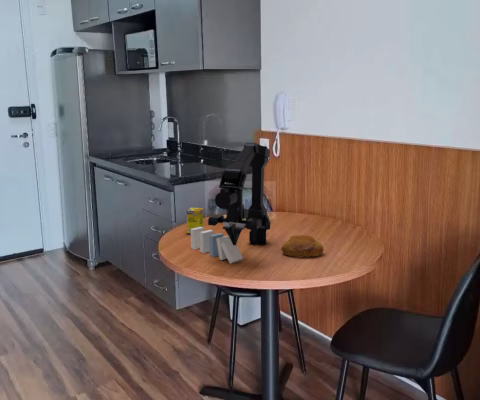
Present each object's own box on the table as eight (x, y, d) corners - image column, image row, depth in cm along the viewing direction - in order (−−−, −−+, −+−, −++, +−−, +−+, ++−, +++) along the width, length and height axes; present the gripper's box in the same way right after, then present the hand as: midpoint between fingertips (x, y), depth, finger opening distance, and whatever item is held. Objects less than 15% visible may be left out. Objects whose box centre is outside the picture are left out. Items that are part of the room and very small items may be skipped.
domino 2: (213, 250, 189) (213, 230, 187) (203, 253, 186) (202, 233, 184) (210, 249, 190) (210, 229, 189) (200, 252, 187) (199, 232, 186)
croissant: (320, 265, 179) (324, 245, 176) (279, 257, 181) (282, 237, 179) (322, 252, 192) (325, 233, 190) (283, 245, 195) (286, 226, 193)
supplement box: (200, 235, 209) (199, 211, 207) (186, 234, 210) (186, 210, 208) (203, 231, 215) (203, 207, 212) (190, 231, 216) (190, 207, 213)
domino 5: (243, 258, 176) (233, 239, 179) (232, 261, 173) (223, 242, 175) (240, 260, 177) (231, 241, 180) (230, 263, 174) (220, 244, 177)
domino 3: (223, 254, 185) (223, 234, 183) (212, 257, 181) (212, 236, 180) (220, 252, 186) (219, 232, 184) (209, 255, 183) (209, 235, 181)
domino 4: (233, 256, 180) (230, 235, 180) (222, 259, 177) (219, 238, 177) (230, 256, 182) (226, 235, 181) (219, 259, 178) (216, 238, 178)
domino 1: (204, 247, 193) (203, 227, 192) (194, 249, 190) (193, 229, 188) (201, 245, 195) (200, 226, 193) (191, 248, 192) (190, 228, 190)
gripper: (266, 200, 175) (266, 241, 178) (219, 196, 182) (220, 236, 185) (256, 206, 165) (256, 250, 168) (206, 202, 172) (207, 244, 175)
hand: (234, 245), depth 175 cm, fingers closed
